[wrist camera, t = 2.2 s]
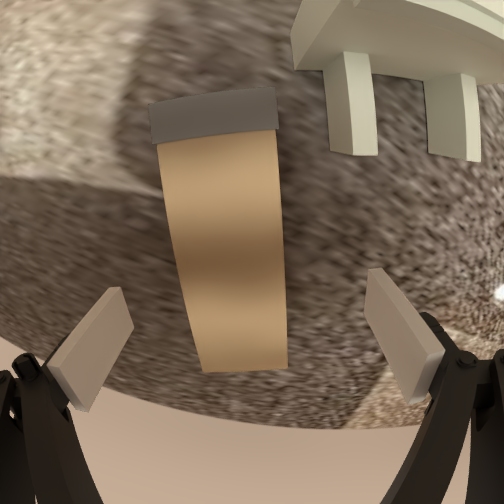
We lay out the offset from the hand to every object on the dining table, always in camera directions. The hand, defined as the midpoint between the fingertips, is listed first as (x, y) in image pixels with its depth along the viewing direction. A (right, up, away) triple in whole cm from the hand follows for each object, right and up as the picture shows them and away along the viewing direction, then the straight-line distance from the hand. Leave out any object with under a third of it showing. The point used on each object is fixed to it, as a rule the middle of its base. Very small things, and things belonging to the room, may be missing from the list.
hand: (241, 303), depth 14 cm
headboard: (+11, +14, +3) cm, 18 cm away
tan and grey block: (-1, +5, +6) cm, 8 cm away
